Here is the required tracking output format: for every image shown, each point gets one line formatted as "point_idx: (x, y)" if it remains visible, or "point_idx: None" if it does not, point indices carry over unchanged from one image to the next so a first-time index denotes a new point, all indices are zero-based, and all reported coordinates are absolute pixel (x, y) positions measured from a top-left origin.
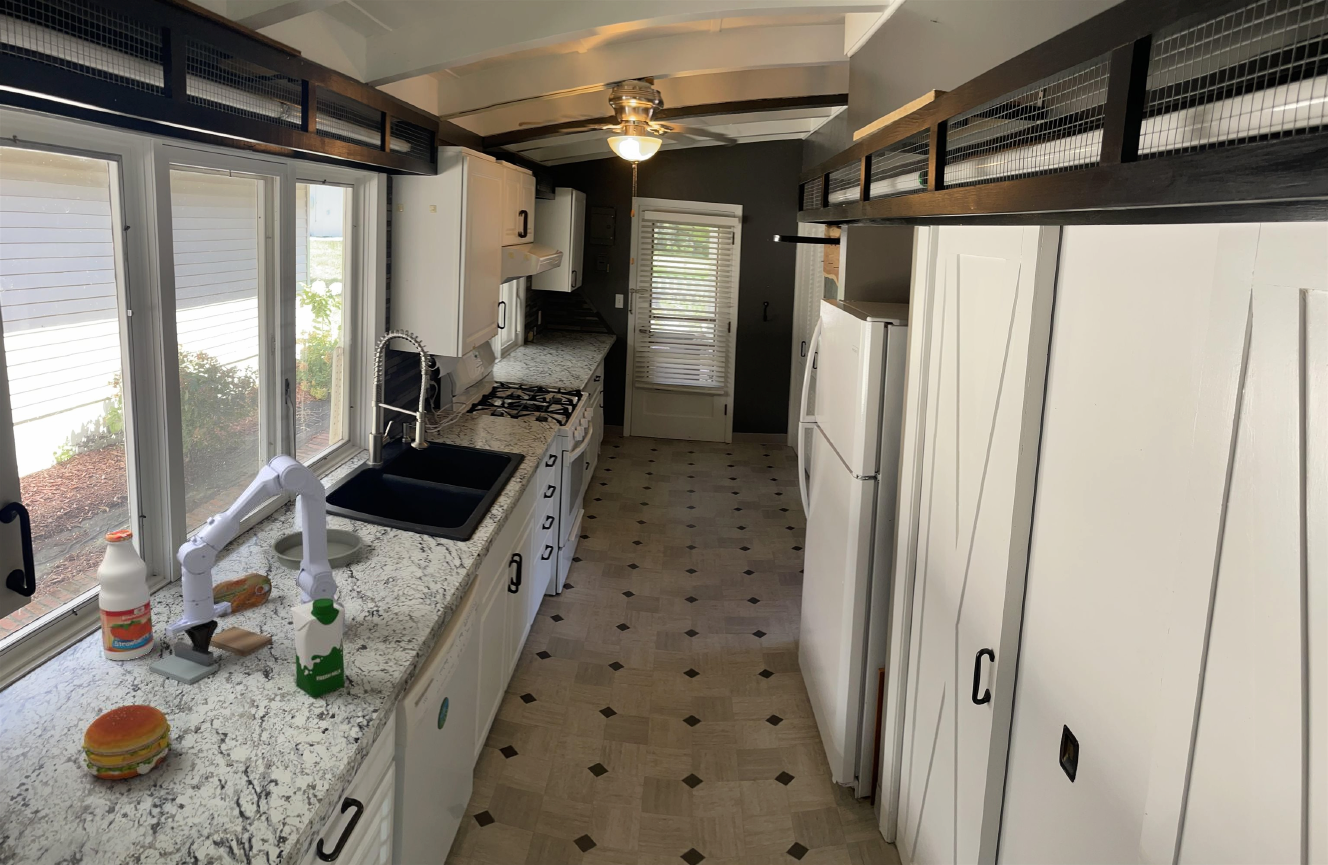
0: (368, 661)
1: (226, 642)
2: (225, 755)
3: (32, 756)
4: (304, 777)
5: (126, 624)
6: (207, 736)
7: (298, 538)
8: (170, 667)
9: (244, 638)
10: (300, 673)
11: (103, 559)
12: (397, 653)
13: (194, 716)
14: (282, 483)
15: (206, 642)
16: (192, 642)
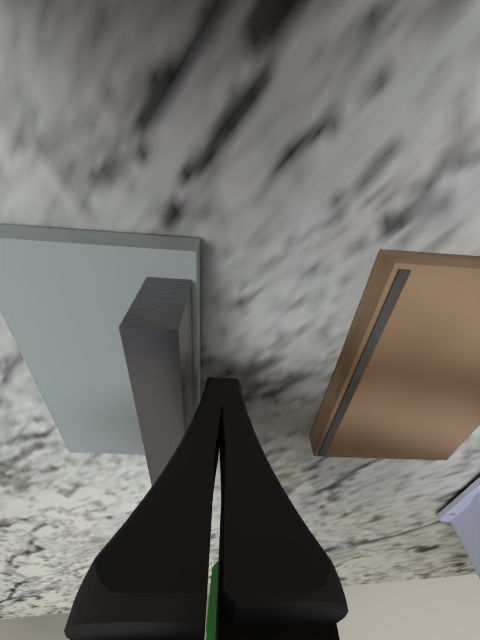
0: (365, 565)
1: (384, 371)
2: (11, 565)
3: None
4: (69, 603)
5: None
6: (8, 540)
7: None
8: (61, 348)
9: (436, 401)
10: (212, 620)
11: None
12: (405, 573)
13: (17, 504)
14: None
15: (221, 482)
16: (185, 434)
